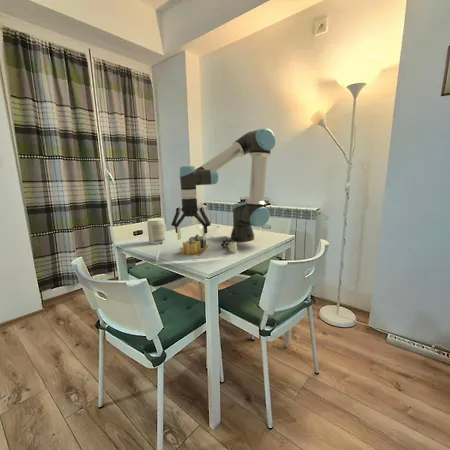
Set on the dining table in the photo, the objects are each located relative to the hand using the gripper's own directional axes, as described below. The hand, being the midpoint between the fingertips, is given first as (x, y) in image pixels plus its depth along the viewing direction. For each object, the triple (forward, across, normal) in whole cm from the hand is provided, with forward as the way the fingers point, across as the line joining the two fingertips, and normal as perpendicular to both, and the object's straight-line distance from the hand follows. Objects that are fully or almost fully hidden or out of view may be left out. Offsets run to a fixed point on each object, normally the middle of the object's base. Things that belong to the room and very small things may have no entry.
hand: (191, 239), depth 129 cm
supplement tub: (+8, +30, -20) cm, 37 cm away
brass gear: (+7, 0, 0) cm, 7 cm away
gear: (+7, 0, -10) cm, 12 cm away
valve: (+9, -19, -6) cm, 22 cm away
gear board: (+8, 0, -4) cm, 9 cm away
